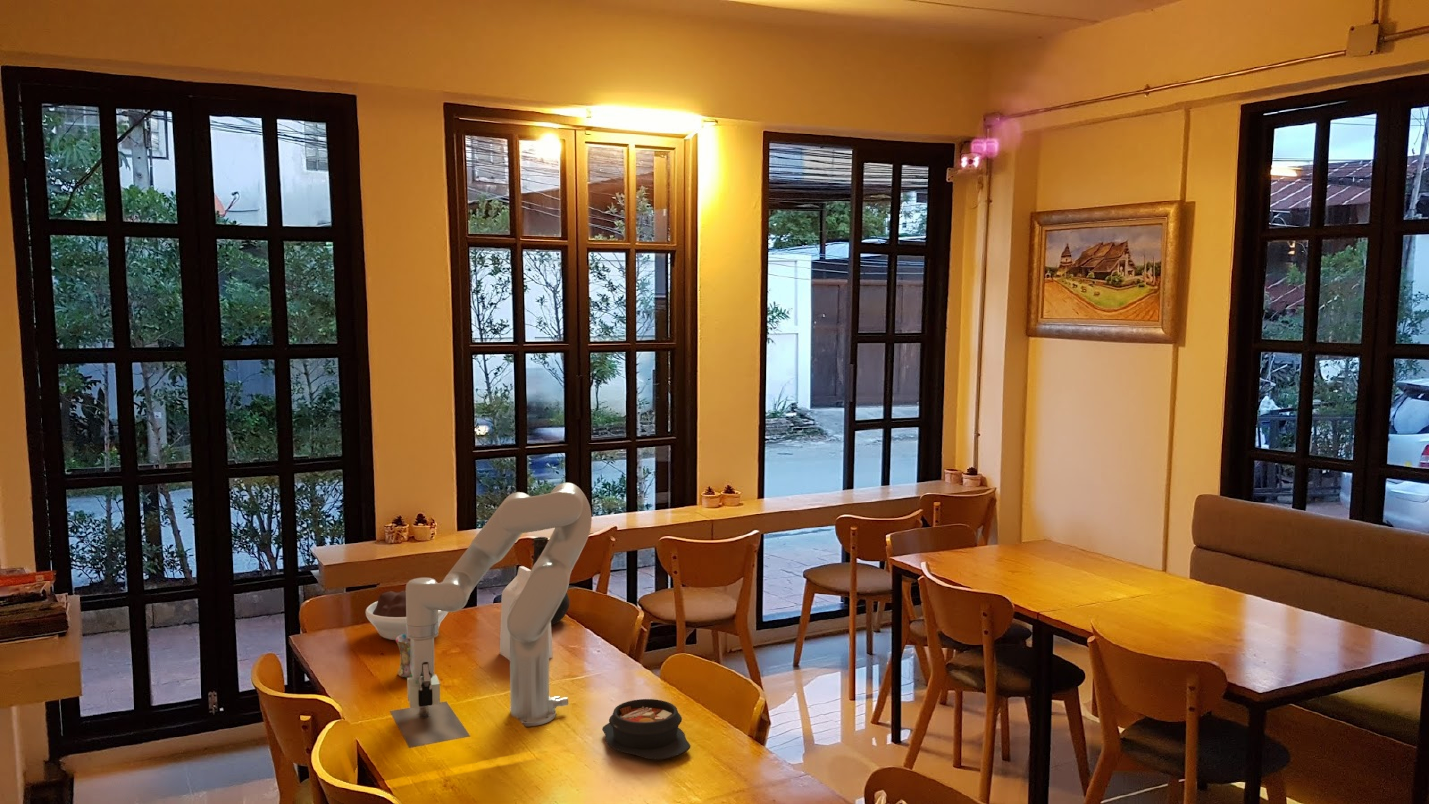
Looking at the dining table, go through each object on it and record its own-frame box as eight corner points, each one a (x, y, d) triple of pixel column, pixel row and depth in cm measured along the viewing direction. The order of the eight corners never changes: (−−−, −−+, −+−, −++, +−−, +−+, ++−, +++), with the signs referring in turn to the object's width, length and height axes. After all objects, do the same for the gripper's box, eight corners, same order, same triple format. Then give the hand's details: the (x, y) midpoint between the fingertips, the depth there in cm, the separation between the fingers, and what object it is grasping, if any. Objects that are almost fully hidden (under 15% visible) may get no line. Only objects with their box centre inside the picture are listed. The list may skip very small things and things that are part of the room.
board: (446, 707, 262) (446, 701, 262) (470, 742, 241) (470, 736, 241) (389, 717, 256) (389, 711, 256) (409, 753, 235) (409, 747, 234)
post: (426, 710, 256) (426, 689, 256) (430, 716, 252) (430, 695, 252) (416, 712, 255) (416, 690, 255) (420, 718, 251) (420, 696, 251)
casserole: (583, 737, 244) (583, 703, 244) (649, 718, 256) (649, 686, 255) (641, 775, 225) (641, 738, 224) (709, 753, 236) (709, 718, 235)
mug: (437, 674, 286) (436, 637, 285) (407, 683, 279) (406, 645, 278) (415, 664, 294) (414, 627, 293) (385, 672, 287) (384, 635, 286)
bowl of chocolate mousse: (437, 649, 307) (436, 600, 305) (354, 648, 307) (352, 599, 306) (459, 624, 331) (458, 578, 330) (382, 623, 332) (381, 577, 330)
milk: (553, 657, 300) (552, 570, 298) (516, 665, 294) (515, 575, 291) (535, 646, 310) (534, 561, 308) (499, 653, 303) (498, 567, 301)
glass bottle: (543, 635, 321) (542, 546, 318) (502, 625, 330) (501, 539, 328) (581, 620, 335) (580, 536, 333) (540, 611, 345) (539, 529, 343)
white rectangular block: (436, 693, 257) (436, 674, 256) (440, 703, 250) (439, 684, 250) (407, 697, 254) (407, 678, 254) (410, 707, 248) (409, 687, 247)
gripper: (403, 620, 257) (404, 689, 259) (409, 641, 241) (411, 715, 243) (434, 617, 260) (435, 686, 262) (442, 638, 244) (443, 710, 246)
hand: (423, 699), depth 252 cm, fingers closed on white rectangular block, 7 cm apart
